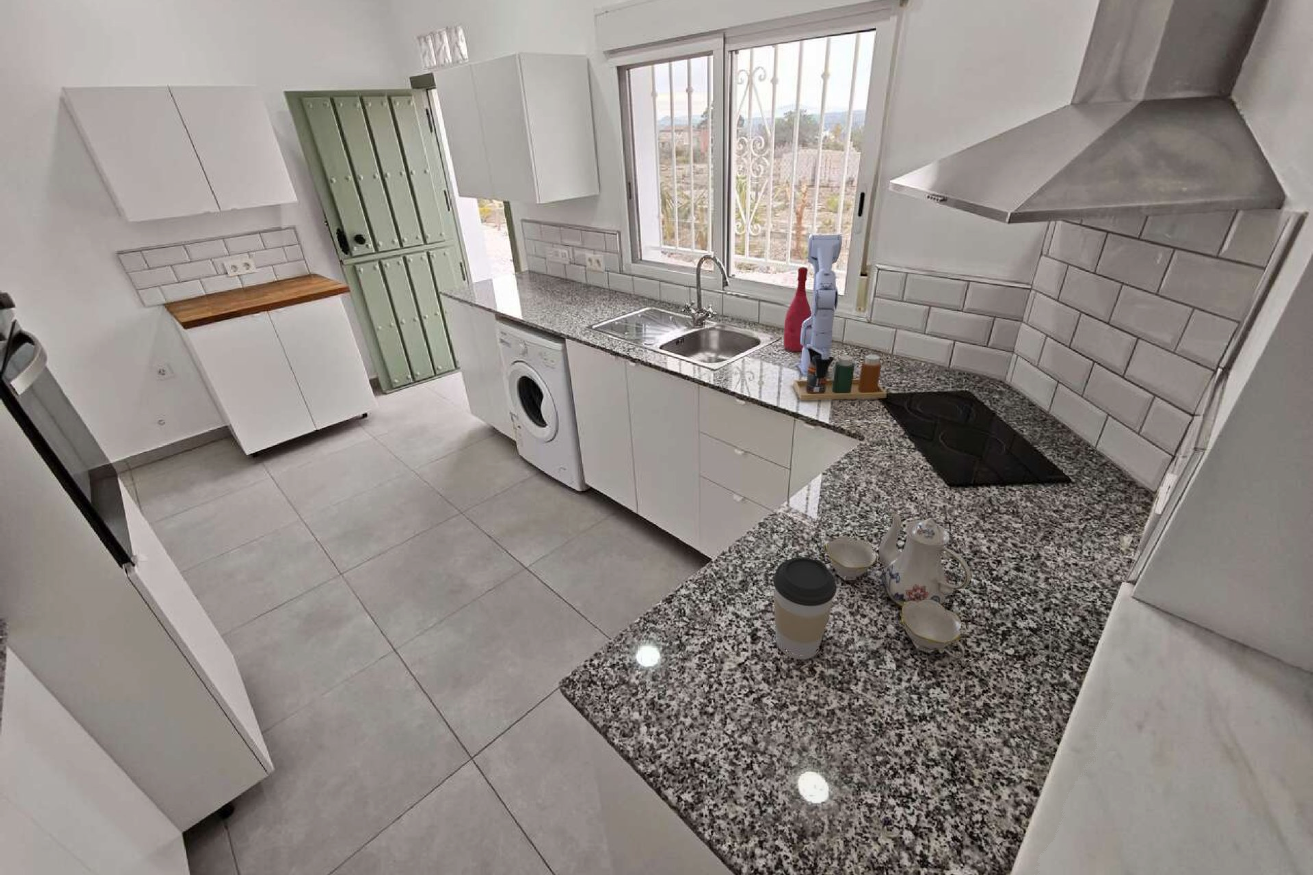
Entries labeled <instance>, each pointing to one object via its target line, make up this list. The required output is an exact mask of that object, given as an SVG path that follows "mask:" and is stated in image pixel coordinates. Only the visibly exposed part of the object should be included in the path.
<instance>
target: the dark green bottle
mask: <svg viewBox="0 0 1313 875" xmlns="http://www.w3.org/2000/svg"><path fill="white" fill-rule="evenodd" d="M853 360H854V359H853V357H852V356H851V355H846V354H845V355H840V356H839V357H838V361H836V362H835V364H834V372H833V379H832V380H833V387H832V391H833V392H834V393H851V387H852V380H853V379H854V373H855V366H856V363H855V362H853Z"/></svg>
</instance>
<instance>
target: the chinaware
mask: <svg viewBox="0 0 1313 875" xmlns="http://www.w3.org/2000/svg"><path fill="white" fill-rule="evenodd" d="M890 514H891V517H892V524H891V526H890V527H889V529H888V530H887V532H886V533H885V535H883V537H882V539H881V540H880V544H879V548H878V556H877V554H876V553H875V552H874V549H873V547H872V545H871V544H870V543H869V542H868V541H866V540H862V539H861V540H860V539H857V540H856V539H855V538H853V537H852V536H848V535H841V536H838V537H836V538H835V539H834V540H830V541H828V542H827V543H826V544H825V549H826V550H825V551H826V553H827V555H828V557H829V560H830V564H831V566H832V568H833V569H834V570H835V571H836V572H837V573H836V575H838V576H839V577H840V578H841V579H843V580H844V581H856V579H857V577H860V576H862V575H863V574H865V573H867V571H868V570H869V568H871V566H872V565H874V564H875V563H876V562H877V561H878V557H879V560H880V562H881V564H882V567H883V568H884V569H883V570H882V572H881V573H880V580H881V582H882V584H884V586H885V591H886V594H887V596H888V597H889V599H890V600H891V601H892V602H894V603H895V604H896V605H898V606H900V607H901V615H900V618H901V623H902V625H903V626H904V629H905V632H906V634H907V636H908V637H909V639H910V640H911V641H912V643H913V645H914V646H915V648H916V649H917V650H918V651H921V652H925V653H928V654H931V653H932V652H934V651H938V653H939V654H943V653H945V652H946V653H947V655H949V656H950V657H952V658H953V659H957V660H960V659H963V657H965V653H966V651H965V647H964V645H963V644H962V643H961V642H960V641H959V640H960V639H961V636H962V631H961V629H962V620H961V618H960V616H959V615H957V614H956V613H955V612H954V611H951V610H948V609H946V608H945V607H944V606H943V605H942V604H944V603H945V601H946V597H947V596H951V595H953V593H954V591H955V590H962V589H964V588H966V587H967V586H968V585H969V584H970V582H971V578H972V574H971V569H970V567H969V565H968V563H967V561H966V560H965V559H964V558H963V556H961V555H960V554H958V553H957V552H955V551H954V550H952V549H951V548H947V547H945V545H946V544H947V543H948V542H949V540H950V534H949V532H948V530H947V529H945V528H944V527H943V526H942V525H940V524H937V523H936V522H935V521H934V519H933V518H931V517H928V518H927V519H922V520H921V519H920V520H919V519H915V520H913V521H909V522H908V523H907V524H906V525H905V531H906V539H905V543H904V547H903V548H902V551H900V550H899V549H898V546H897V542H898V538H899V536H900V533H901V530H902V519H901V516H900V514H899V513H898V512H897V510H893V509H892V510H890ZM951 557H953V558H954V559H955V560H956V561H957V562H958V563H959V564H960V565H961V567H962V568H963V571H964V577H965V578H964V581H963V582H962V583H961V584H953V583H951V582H950V579H949V578H948V577H947V574H946V573H945V570H944V568H943V564H942V559H943V560H950V558H951ZM951 643H953V646H957V645H958V646H959V648H960V651H961V655H956V654H953V653H952V652H950V651H949V649H947V648H946V647H948V646H949V645H950V644H951Z"/></svg>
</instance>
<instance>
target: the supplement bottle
mask: <svg viewBox="0 0 1313 875" xmlns="http://www.w3.org/2000/svg"><path fill="white" fill-rule="evenodd" d="M816 356H820V355H816ZM828 375H829V368H828V369H827V372H826V375H825V377H824V379H817V377H816V365H815V361H814V358H812V362H811V363H810V364H809V366H808V375H806V380H807V384H806V391H807V392H808V393H810V394H823V393H824V392H825V390H826V383H827V380H828Z"/></svg>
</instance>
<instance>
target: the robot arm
mask: <svg viewBox="0 0 1313 875" xmlns="http://www.w3.org/2000/svg"><path fill="white" fill-rule="evenodd" d="M842 244H843V236H842V234H841V233H838V234H810V235H809V236H808V243H807V257H806V258H807V263H809V264H810V265H812V266H813V267H812V268H813V284H812V297H811V298H812V299H811V317H809V318H808V319H806V320H805V321H804V322H803V323H802V329H801V339H800V343H801V345H804V346H803V349H802V351H801V357H800V358H801V359H800V364H797V367H798V369H799V370H800V371H801V373H802V376H807V375H808V366H809V364H810V363H811V362H812V358H814V361H815V365H816V377H817V379H824V377H825V375H826V372H827V369H828V370H829V367H830V365H831V364H832V363H833V361H834V357H833V356H830V354H831V353H830V351H831V349H832V342H833V327H834V319H835V311H836V310H837V308H838V303H839V290H838V287H837V279H836V278H837V276H836V273H835V271H834V270H833V265H834V264H836V263H837V262H838V259H839V258H840V254H841V251H842V247H843V245H842ZM810 325H811V326H812V327H807V326H810ZM816 355H820V356H816Z"/></svg>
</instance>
